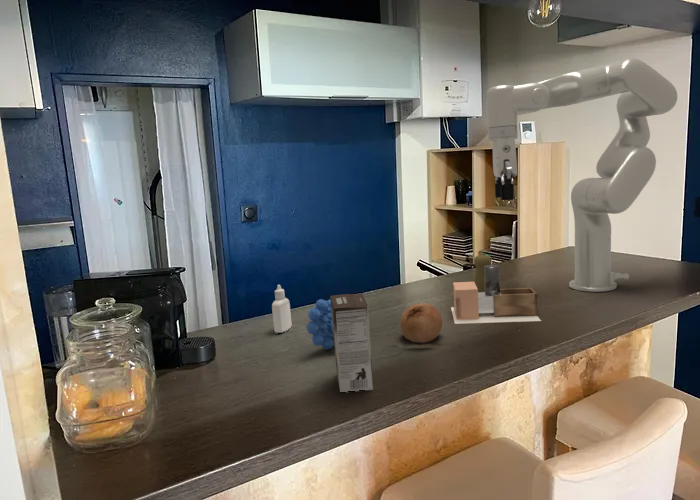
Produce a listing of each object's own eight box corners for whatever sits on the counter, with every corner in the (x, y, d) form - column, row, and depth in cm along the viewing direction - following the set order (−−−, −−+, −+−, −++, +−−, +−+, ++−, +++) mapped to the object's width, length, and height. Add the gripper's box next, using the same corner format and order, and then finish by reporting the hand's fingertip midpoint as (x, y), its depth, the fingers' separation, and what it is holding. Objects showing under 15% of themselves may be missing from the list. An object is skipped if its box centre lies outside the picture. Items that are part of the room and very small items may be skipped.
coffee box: (336, 374, 103) (329, 295, 100) (368, 370, 103) (362, 292, 101) (339, 394, 94) (332, 307, 91) (374, 390, 94) (368, 304, 92)
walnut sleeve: (531, 308, 132) (531, 287, 131) (537, 315, 126) (536, 293, 125) (491, 310, 133) (490, 289, 132) (494, 317, 127) (494, 295, 127)
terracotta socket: (475, 309, 135) (474, 281, 134) (478, 319, 127) (477, 289, 126) (454, 310, 136) (453, 282, 134) (456, 319, 128) (455, 290, 126)
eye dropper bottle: (297, 329, 133) (292, 283, 131) (278, 335, 129) (273, 288, 127) (288, 326, 136) (284, 281, 134) (269, 331, 133) (264, 286, 131)
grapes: (324, 361, 110) (319, 307, 108) (302, 355, 114) (297, 302, 112) (360, 345, 118) (356, 293, 116) (338, 339, 123) (334, 290, 121)
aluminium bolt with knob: (499, 307, 132) (498, 264, 130) (502, 312, 128) (501, 267, 126) (459, 308, 133) (458, 266, 132) (461, 313, 129) (459, 269, 127)
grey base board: (528, 308, 136) (528, 304, 136) (541, 324, 122) (541, 320, 122) (451, 310, 139) (450, 307, 139) (455, 327, 125) (454, 323, 125)
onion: (420, 360, 114) (410, 328, 109) (397, 338, 122) (387, 307, 116) (454, 338, 117) (446, 305, 111) (429, 318, 124) (421, 286, 119)
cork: (492, 288, 158) (491, 253, 157) (495, 293, 153) (494, 256, 151) (472, 289, 159) (471, 254, 157) (475, 294, 153) (473, 257, 151)
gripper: (524, 131, 129) (525, 200, 132) (511, 134, 146) (512, 195, 149) (493, 133, 130) (494, 202, 133) (484, 136, 147) (485, 197, 150)
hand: (504, 198), depth 141 cm, fingers open, 9 cm apart
